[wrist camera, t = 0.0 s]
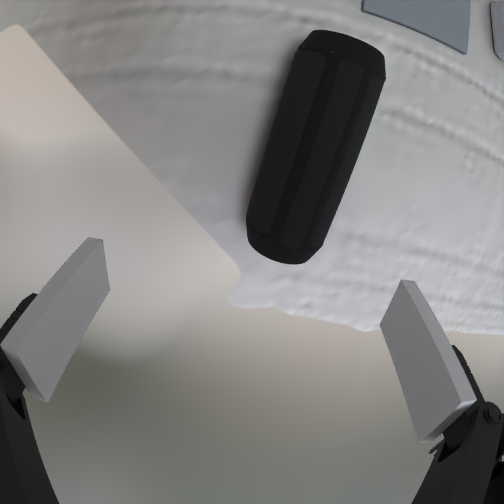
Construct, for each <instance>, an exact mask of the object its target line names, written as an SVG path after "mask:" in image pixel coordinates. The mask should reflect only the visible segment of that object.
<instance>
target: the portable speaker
mask: <svg viewBox="0 0 504 504" xmlns="http://www.w3.org/2000/svg"><path fill="white" fill-rule="evenodd" d="M385 80H386V73H385V59H384V55H383V54H382V53H381V52H380V51H379V50H377V49H376V48H374V47H373V46H371V45H369V44H367V43H365V42H363V41H361V40H359V39H356V38H354V37H351V36H348V35H345V34H342V33H338V32H333V31H327V30H314V31H312V32H311V33H310V34H309V36H308V37H307V38H306V39H305V40H304V42H303V43H302V44H301V45H300V46H299V47H298V51H296V53H295V57H294V60H293V63H292V66H291V69H290V72H289V76H288V79H287V82H286V85H285V88H284V91H283V95H282V98H281V101H280V104H279V108H278V111H277V114H276V117H275V120H274V124H273V127H272V130H271V134H270V137H269V140H268V143H267V147H266V150H265V153H264V157H263V160H262V163H261V167H260V170H259V173H258V177H257V180H256V183H255V187H254V190H253V193H252V197H251V200H250V203H249V207H248V210H247V216H246V226H247V236H248V241H249V243H250V245H251V246H252V247H253V248H254V249H255V250H256V251H257V252H258V253H260V254H262V255H263V256H265V257H267V258H269V259H271V260H274V261H277V262H280V263H284V264H302V263H305V262H307V261H308V260H309V259H310V258H311V257H312V256H313V255H314V254H315V253H316V252H317V251H318V250H319V249H320V248H321V247H322V245H323V243H324V240H325V237H326V235H327V233H328V230H329V228H330V226H331V223H332V221H333V219H334V216H335V214H336V211H337V209H338V206H339V204H340V202H341V199H342V197H343V194H344V192H345V189H346V187H347V184H348V182H349V179H350V176H351V174H352V171H353V169H354V166H355V163H356V161H357V158H358V156H359V153H360V150H361V148H362V145H363V142H364V139H365V137H366V134H367V131H368V128H369V126H370V123H371V120H372V117H373V114H374V111H375V108H376V106H377V103H378V100H379V97H380V94H381V91H382V88H383V85H384V82H385Z"/></svg>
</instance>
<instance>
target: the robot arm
mask: <svg viewBox="0 0 504 504" xmlns="http://www.w3.org/2000/svg"><path fill="white" fill-rule="evenodd" d="M109 291H110V287H109V280H108V274H107V268H106V261H105V254H104V246H103V240H102V239H96V238H89V237H88V238H87V239H86V240H85V241H84V242H83V243H82V245H81V246H80V247H79V248H78V249H77V250H76V251H75V252H74V253H73V254H72V255H71V256H70V257H69V259H68V260H67V261H66V262H65V263H64V264H63V265H62V266H61V268H60V269H59V270H58V271H57V272H56V273H55V274H54V276H53V277H52V278H51V279H50V281H49V282H48V283H47V284H46V285H45V286H44V287H43V289H42V290H41V291H40V293H39V294H35V293H32V294H31V295H29V296H28V297H26V298H25V299H24V300H22V302H21V303H20V304H19V306H18V307H17V308H16V311H14V312H13V313H12V314H11V315H10V318H8V319H7V321H6V322H5V323H4V325H3V326H2V328H1V329H0V504H59V502H58V500H57V497H56V495H55V493H54V490H53V488H52V486H51V483H50V480H49V478H48V475H47V473H46V470H45V467H44V464H43V462H42V459H41V456H40V453H39V450H38V447H37V444H36V440H35V437H34V434H33V430H32V426H31V422H30V418H29V415H28V410H27V406H26V401H25V398H24V396H23V394H22V393H23V390H24V389H25V387H26V389H27V390H28V391H29V393H30V395H31V396H32V397H35V398H37V399H39V400H41V401H44V402H46V403H48V402H49V400H50V398H51V395H52V393H53V391H54V389H55V387H56V385H57V383H58V381H59V379H60V377H61V375H62V373H63V372H64V369H65V368H66V366H67V364H68V362H69V360H70V358H71V356H72V355H73V353H74V351H75V349H76V347H77V345H78V343H79V342H80V340H81V338H82V336H83V335H84V333H85V331H86V330H87V327H88V326H89V324H90V323H91V321H92V319H93V317H94V316H95V314H96V312H97V311H98V309H99V307H100V306H101V304H102V302H103V301H104V299H105V298H106V296H107V294H108V293H109ZM380 327H381V330H382V333H383V335H384V338H385V341H386V343H387V346H388V349H389V352H390V354H391V357H392V360H393V363H394V366H395V369H396V372H397V375H398V378H399V381H400V384H401V387H402V390H403V393H404V396H405V400H406V403H407V406H408V409H409V413H410V416H411V419H412V423H413V427H414V430H415V434H416V437H417V441H418V443H423V442H428V441H433V440H435V439H436V438H437V437H438V436H439V435H440V434H441V433H443V435H444V439H443V440H442V441H441V442H439V443H438V444H437V445H436V446H435V447H433V448H432V449H431V450H430V452H429V453H430V454H431V453H433V452H434V451H435V450H436V449H437V452H436V454H434V459H433V461H432V463H431V465H430V468H429V470H428V472H427V474H426V476H425V478H424V480H423V482H422V484H421V487H420V488H419V490H418V492H417V494H416V496H415V498H414V500H413V502H412V504H504V461H503V462H502V456H503V455H504V414H502V413H501V411H500V409H499V408H498V406H496V405H495V404H494V403H491V402H485V400H484V398H483V396H482V394H481V392H480V390H479V387H478V385H477V383H476V381H475V379H474V377H473V375H472V373H471V371H470V368H469V366H467V363H466V360H465V359H464V357H463V355H462V353H461V352H460V351H459V350H458V349H457V348H456V347H455V346H454V345H451V344H450V342H449V340H448V339H447V337H446V335H445V333H444V331H443V329H442V327H441V325H440V324H439V322H438V320H437V318H436V316H435V315H434V313H433V311H432V309H431V308H430V306H429V304H428V303H427V301H426V299H425V298H424V296H423V294H422V292H421V291H420V289H419V288H418V286H417V284H416V283H415V281H409V280H401V281H400V283H399V285H398V288H397V290H396V292H395V294H394V296H393V298H392V301H391V303H390V305H389V307H388V309H387V311H386V313H385V315H384V317H383V319H382V321H381V323H380Z"/></svg>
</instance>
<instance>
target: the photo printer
mask: <svg viewBox="0 0 504 504" xmlns="http://www.w3.org/2000/svg"><path fill="white" fill-rule="evenodd" d="M491 17H492V28H493V38H494V48H495V53H496V54H497V56H498V57H499V58H500V59H501V60H503V61H504V1H499V2H494V3H491Z"/></svg>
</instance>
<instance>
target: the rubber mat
mask: <svg viewBox="0 0 504 504" xmlns="http://www.w3.org/2000/svg"><path fill="white" fill-rule="evenodd" d="M362 12H366V13H369V14H372V15H375V16H378V17H381V18H384V19H387V20H389V21H392V22H395V23H397V24H400V25H402V26H405V27H407V28H410V29H412V30H415V31H417V32H419V33H422V34H424V35H426V36H428V37H431V38H433V39H435V40H437V41H439V42H441V43H443V44H445V45H447V46H449V47H451V48H453V49H455V50H457V51H459V52H460V53H462V54H467V48H468V37H469V22H470V0H363V4H362Z"/></svg>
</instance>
